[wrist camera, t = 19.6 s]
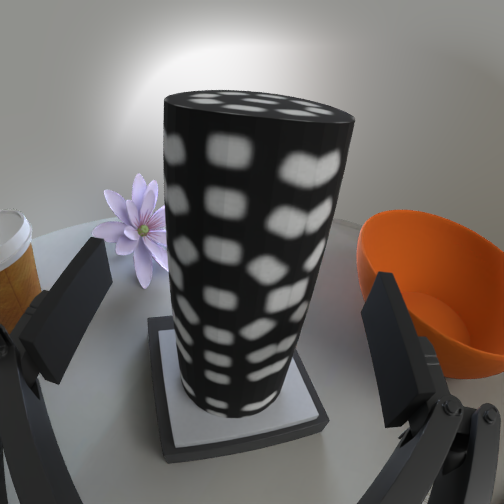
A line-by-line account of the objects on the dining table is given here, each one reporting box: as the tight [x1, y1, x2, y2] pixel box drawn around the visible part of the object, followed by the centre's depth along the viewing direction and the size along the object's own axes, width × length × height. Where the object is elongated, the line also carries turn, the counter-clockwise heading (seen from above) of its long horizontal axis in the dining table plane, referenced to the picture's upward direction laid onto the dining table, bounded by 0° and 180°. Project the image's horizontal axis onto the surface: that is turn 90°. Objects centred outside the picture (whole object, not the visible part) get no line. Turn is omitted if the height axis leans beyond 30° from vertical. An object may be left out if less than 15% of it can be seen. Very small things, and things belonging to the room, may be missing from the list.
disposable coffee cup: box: [0, 209, 41, 335], centre depth 25 cm, size 10×10×12 cm
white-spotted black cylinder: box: [163, 90, 355, 418], centre depth 18 cm, size 8×8×20 cm
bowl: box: [357, 210, 504, 379], centre depth 31 cm, size 25×25×10 cm
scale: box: [148, 316, 329, 463], centre depth 26 cm, size 14×13×3 cm
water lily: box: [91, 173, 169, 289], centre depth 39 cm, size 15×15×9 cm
